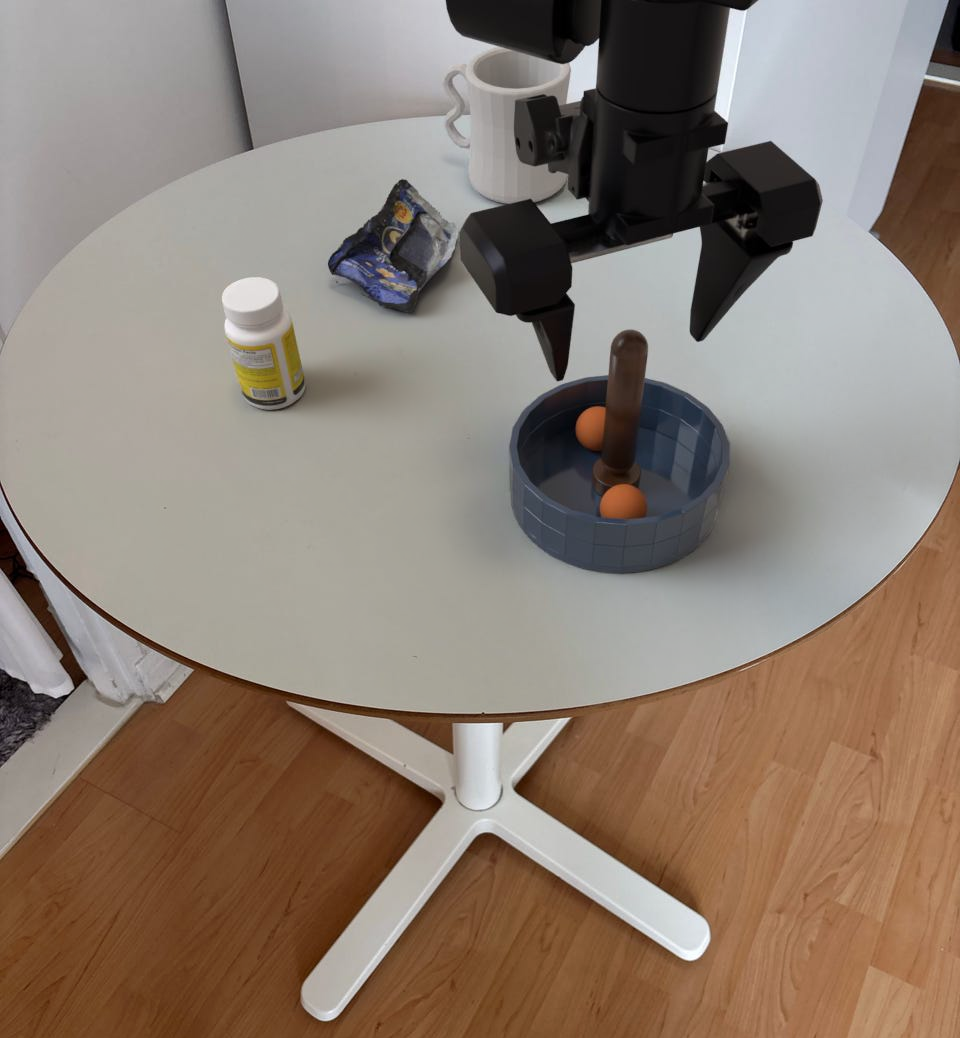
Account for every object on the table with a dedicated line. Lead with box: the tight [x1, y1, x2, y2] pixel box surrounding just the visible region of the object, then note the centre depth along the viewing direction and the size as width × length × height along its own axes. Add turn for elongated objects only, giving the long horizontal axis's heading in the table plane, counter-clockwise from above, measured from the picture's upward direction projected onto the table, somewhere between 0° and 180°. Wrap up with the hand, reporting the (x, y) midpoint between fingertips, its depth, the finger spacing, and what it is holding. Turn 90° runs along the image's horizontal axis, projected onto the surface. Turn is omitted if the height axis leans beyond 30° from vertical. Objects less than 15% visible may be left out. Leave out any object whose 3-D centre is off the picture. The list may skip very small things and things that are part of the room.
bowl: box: [508, 374, 731, 574], centre depth 67 cm, size 14×14×4 cm
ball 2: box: [600, 484, 647, 519], centre depth 65 cm, size 3×3×3 cm
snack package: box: [327, 178, 459, 314], centre depth 84 cm, size 12×6×12 cm
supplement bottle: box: [221, 276, 306, 411], centre depth 73 cm, size 5×5×8 cm
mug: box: [441, 46, 572, 205], centre depth 90 cm, size 12×9×10 cm
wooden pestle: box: [592, 328, 649, 496], centre depth 64 cm, size 3×3×12 cm
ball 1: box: [576, 406, 606, 451], centre depth 70 cm, size 3×3×3 cm
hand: (627, 356), depth 61 cm, fingers open, 9 cm apart
